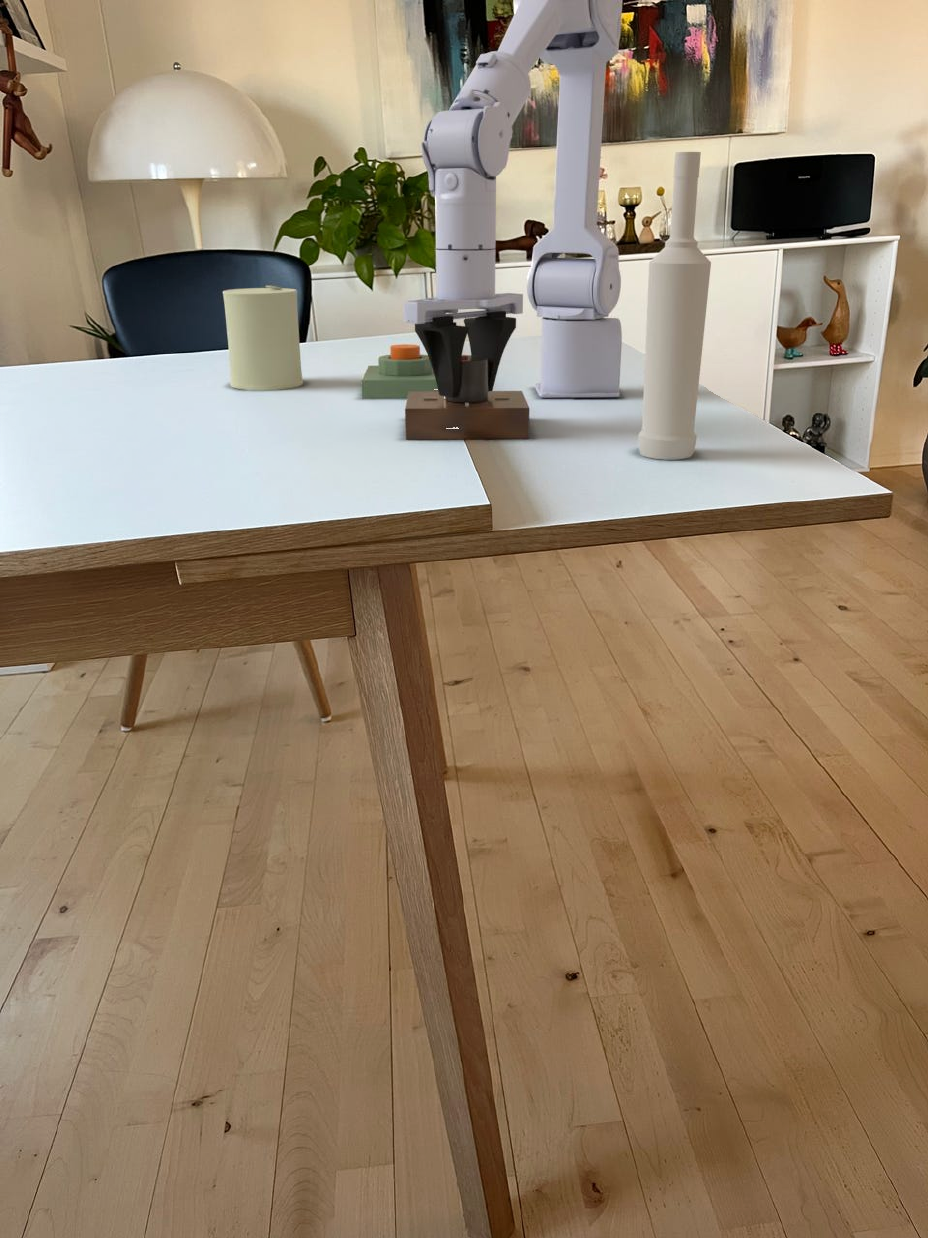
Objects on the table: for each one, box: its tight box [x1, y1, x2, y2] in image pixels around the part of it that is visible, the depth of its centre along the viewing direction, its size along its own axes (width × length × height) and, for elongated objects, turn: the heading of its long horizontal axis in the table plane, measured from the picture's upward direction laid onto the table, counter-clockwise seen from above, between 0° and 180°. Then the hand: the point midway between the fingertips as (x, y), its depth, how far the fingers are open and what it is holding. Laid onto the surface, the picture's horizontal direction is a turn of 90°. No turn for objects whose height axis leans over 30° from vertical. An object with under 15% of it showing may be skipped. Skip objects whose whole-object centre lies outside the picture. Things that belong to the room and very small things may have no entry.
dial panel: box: [404, 390, 530, 440], centre depth 102 cm, size 12×10×3 cm
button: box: [389, 343, 421, 360], centre depth 123 cm, size 4×4×2 cm
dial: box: [445, 354, 488, 403], centre depth 101 cm, size 4×4×4 cm
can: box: [222, 285, 304, 391], centre depth 127 cm, size 9×9×12 cm
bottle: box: [637, 151, 712, 461], centre depth 87 cm, size 5×5×25 cm
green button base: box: [360, 353, 438, 400], centre depth 124 cm, size 10×12×4 cm
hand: (465, 393), depth 101 cm, fingers closed on dial, 4 cm apart
